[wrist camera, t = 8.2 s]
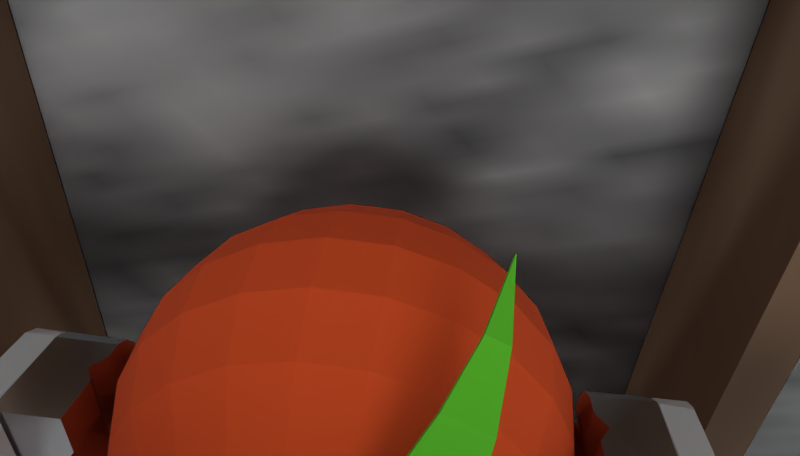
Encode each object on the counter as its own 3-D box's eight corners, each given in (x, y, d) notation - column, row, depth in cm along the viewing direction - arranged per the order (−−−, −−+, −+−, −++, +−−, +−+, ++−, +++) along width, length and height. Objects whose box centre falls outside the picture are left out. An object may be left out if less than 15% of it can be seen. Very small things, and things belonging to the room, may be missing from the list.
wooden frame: (889, -149, 9) (1101, -168, 6) (631, 467, 17) (667, 587, 15) (-108, -203, 10) (-350, -241, 7) (101, 414, 18) (32, 517, 15)
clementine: (309, 7, 9) (-1, 250, 3) (657, 198, 10) (940, 654, 4) (180, 328, 13) (-65, 709, 7) (440, 439, 14) (422, 850, 8)
